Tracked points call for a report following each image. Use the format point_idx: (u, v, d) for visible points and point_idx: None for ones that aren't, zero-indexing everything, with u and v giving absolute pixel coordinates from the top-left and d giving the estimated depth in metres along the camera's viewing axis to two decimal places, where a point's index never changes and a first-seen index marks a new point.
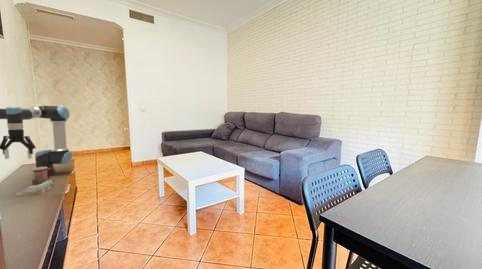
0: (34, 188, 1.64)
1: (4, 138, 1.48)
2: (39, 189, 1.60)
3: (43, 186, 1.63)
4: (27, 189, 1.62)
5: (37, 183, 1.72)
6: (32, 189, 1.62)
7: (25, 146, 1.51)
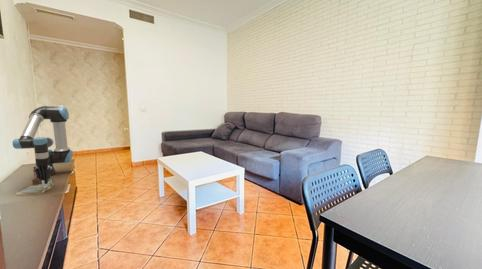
0: (34, 188, 1.64)
1: (35, 168, 1.61)
2: (39, 189, 1.60)
3: None
4: (27, 189, 1.62)
5: (37, 183, 1.72)
6: (32, 189, 1.62)
7: (43, 175, 1.61)
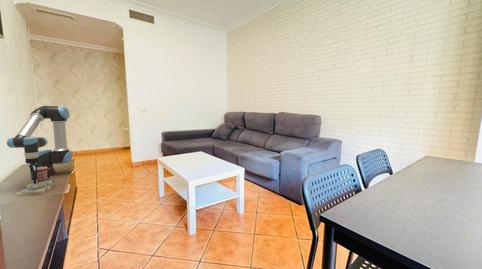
0: (34, 188, 1.64)
1: None
2: (27, 188, 1.61)
3: None
4: (27, 189, 1.62)
5: None
6: (32, 189, 1.62)
7: (32, 175, 1.61)
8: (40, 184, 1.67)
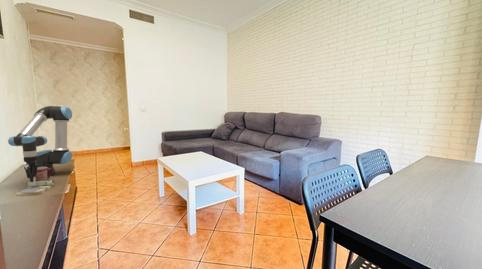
0: (34, 188, 1.64)
1: None
2: None
3: None
4: (27, 189, 1.62)
5: None
6: (32, 189, 1.62)
7: None
8: (39, 183, 1.69)
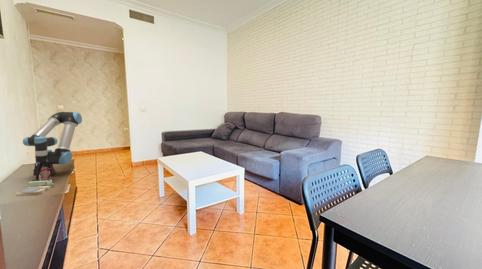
0: (34, 188, 1.64)
1: (38, 165, 1.73)
2: None
3: (33, 183, 1.68)
4: (27, 189, 1.62)
5: None
6: (32, 189, 1.62)
7: None
8: (39, 183, 1.69)
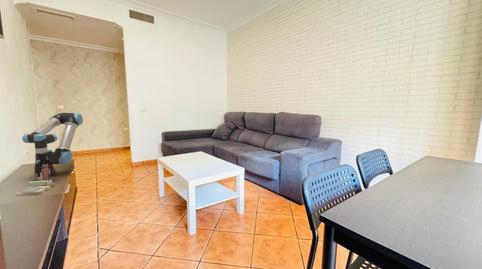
0: (34, 188, 1.64)
1: (39, 162, 1.73)
2: None
3: (33, 183, 1.68)
4: (27, 189, 1.62)
5: None
6: (32, 189, 1.62)
7: (48, 165, 1.84)
8: (39, 183, 1.69)
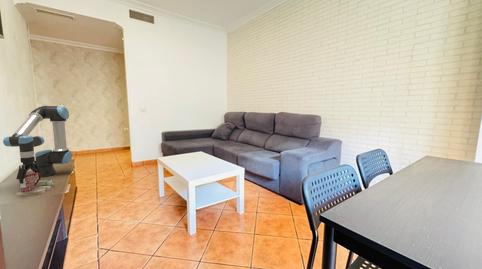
0: None
1: (23, 167, 1.53)
2: None
3: None
4: None
5: None
6: None
7: (35, 170, 1.65)
8: (39, 183, 1.69)
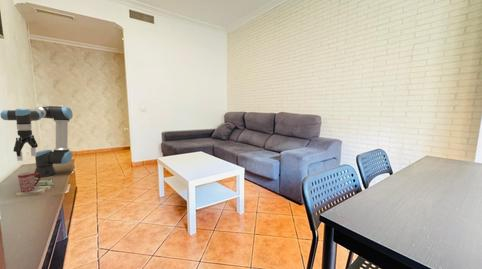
0: None
1: (20, 140, 1.51)
2: None
3: None
4: None
5: None
6: None
7: (33, 144, 1.63)
8: (39, 183, 1.69)
